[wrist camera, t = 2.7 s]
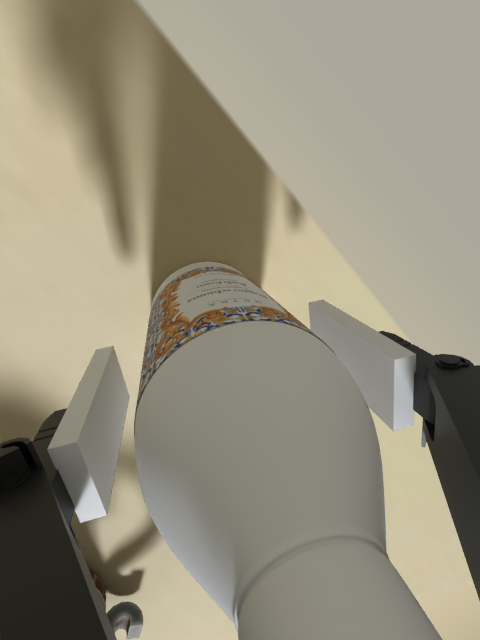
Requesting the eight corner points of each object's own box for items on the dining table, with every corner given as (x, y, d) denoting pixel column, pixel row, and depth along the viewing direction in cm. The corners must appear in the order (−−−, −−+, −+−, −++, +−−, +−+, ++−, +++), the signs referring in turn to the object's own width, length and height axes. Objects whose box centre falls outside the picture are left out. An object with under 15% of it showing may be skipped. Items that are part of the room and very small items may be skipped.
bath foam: (261, 258, 21) (1107, 709, 2) (257, 359, 23) (652, 1010, 4) (146, 260, 19) (-369, 1700, 1) (154, 367, 21) (84, 1387, 3)
